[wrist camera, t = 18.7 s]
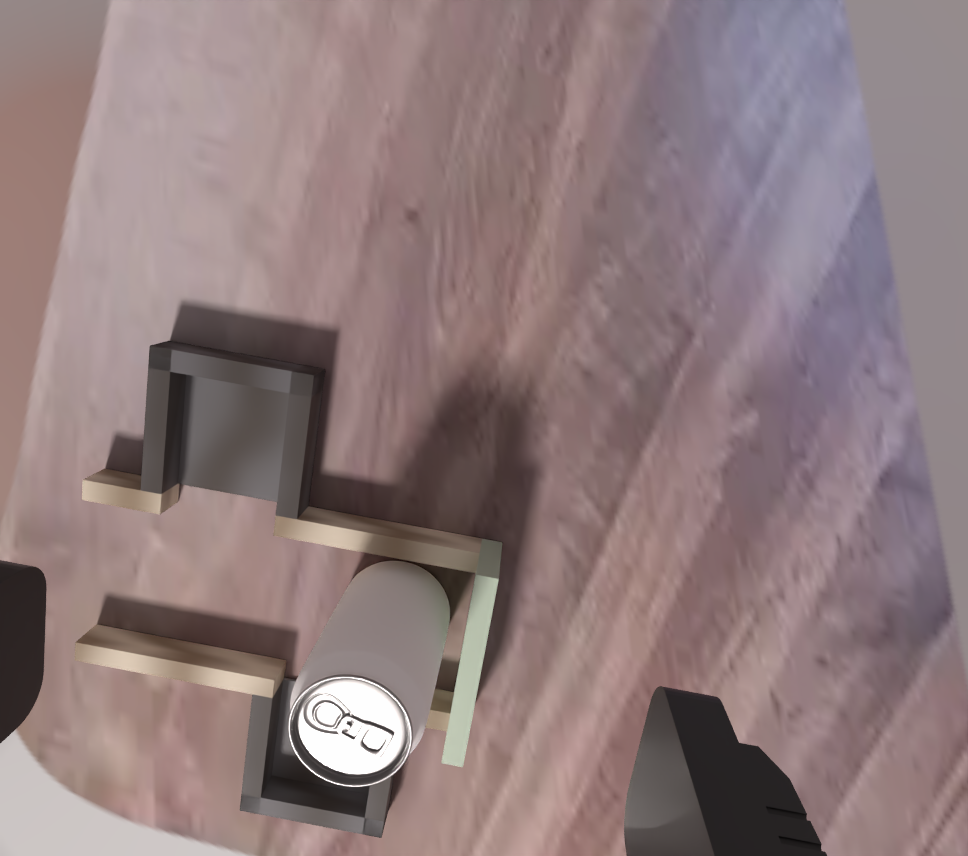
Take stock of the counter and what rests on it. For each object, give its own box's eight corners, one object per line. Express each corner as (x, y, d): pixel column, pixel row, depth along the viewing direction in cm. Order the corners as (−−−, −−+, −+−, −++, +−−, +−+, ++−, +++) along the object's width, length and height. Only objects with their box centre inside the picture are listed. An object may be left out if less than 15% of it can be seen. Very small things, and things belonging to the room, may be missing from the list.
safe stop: (450, 709, 46) (441, 763, 41) (482, 538, 43) (475, 574, 38) (470, 712, 46) (462, 767, 41) (502, 542, 43) (498, 579, 38)
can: (374, 538, 44) (316, 641, 32) (470, 589, 44) (448, 710, 32) (326, 625, 45) (254, 754, 34) (420, 674, 46) (381, 819, 34)
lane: (89, 754, 48) (69, 777, 46) (111, 330, 42) (89, 334, 40) (449, 823, 48) (445, 850, 46) (528, 405, 41) (528, 414, 39)
